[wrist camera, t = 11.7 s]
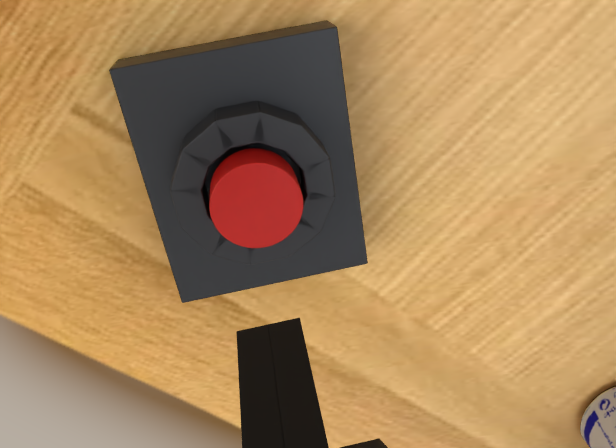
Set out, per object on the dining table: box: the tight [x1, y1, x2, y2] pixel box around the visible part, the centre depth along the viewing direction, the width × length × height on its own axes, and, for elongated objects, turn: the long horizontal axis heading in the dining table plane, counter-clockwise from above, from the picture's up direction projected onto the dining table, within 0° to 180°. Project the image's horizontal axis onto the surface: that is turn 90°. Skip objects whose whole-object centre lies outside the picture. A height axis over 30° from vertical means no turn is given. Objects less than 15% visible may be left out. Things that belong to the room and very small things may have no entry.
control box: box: [109, 21, 368, 303], centre depth 25 cm, size 11×9×4 cm
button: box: [209, 148, 303, 248], centre depth 23 cm, size 4×4×2 cm
